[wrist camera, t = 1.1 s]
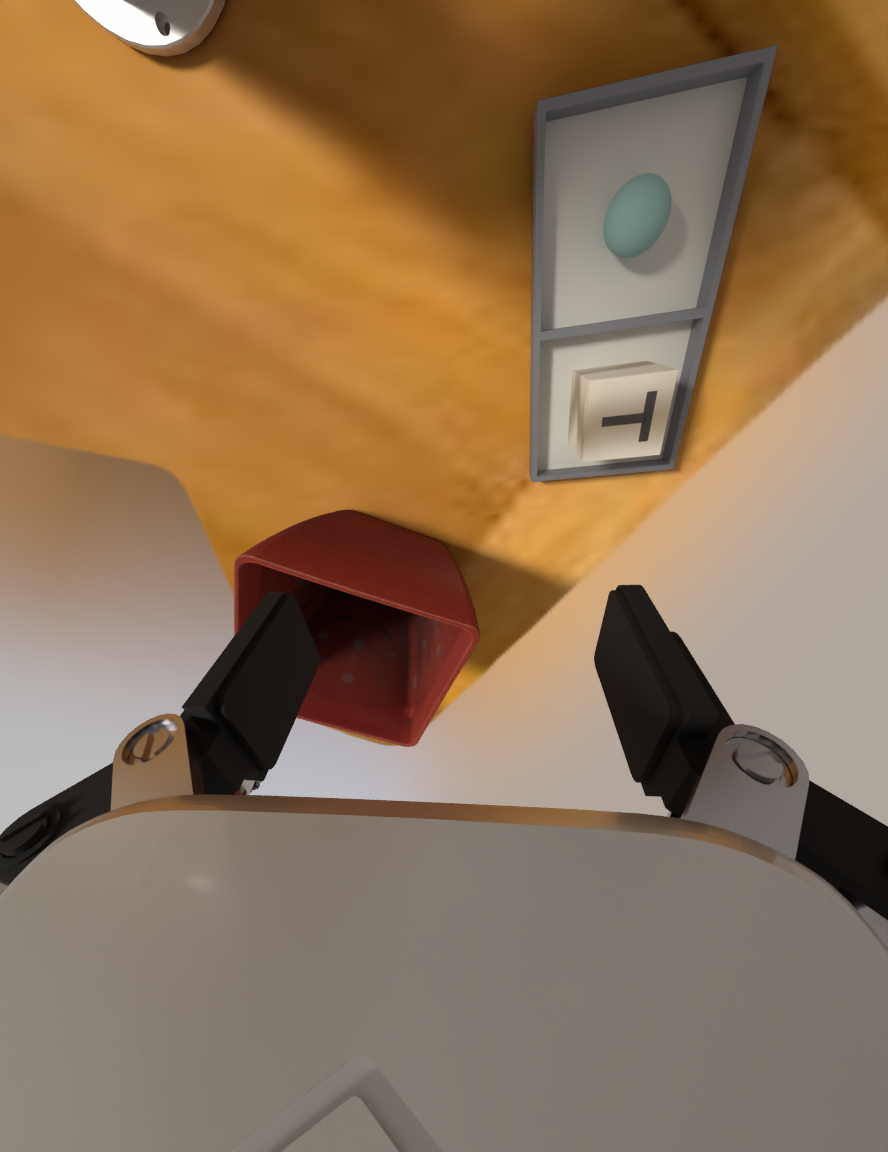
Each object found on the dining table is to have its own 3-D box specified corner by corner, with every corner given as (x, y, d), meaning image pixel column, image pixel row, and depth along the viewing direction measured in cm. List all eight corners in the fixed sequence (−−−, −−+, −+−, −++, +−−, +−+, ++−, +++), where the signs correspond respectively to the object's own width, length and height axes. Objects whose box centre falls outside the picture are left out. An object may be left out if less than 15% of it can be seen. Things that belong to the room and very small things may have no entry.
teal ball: (600, 189, 25) (618, 171, 22) (662, 177, 24) (690, 156, 21) (593, 265, 27) (608, 259, 24) (650, 256, 26) (674, 248, 23)
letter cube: (572, 370, 31) (589, 380, 26) (646, 360, 30) (678, 369, 25) (567, 441, 35) (582, 462, 30) (634, 434, 34) (660, 454, 29)
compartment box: (533, 115, 23) (537, 100, 22) (755, 65, 22) (777, 44, 20) (529, 474, 37) (531, 482, 36) (664, 462, 35) (673, 469, 34)
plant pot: (318, 468, 39) (231, 552, 25) (482, 527, 41) (485, 632, 28) (299, 596, 50) (232, 702, 36) (430, 636, 52) (414, 749, 39)
